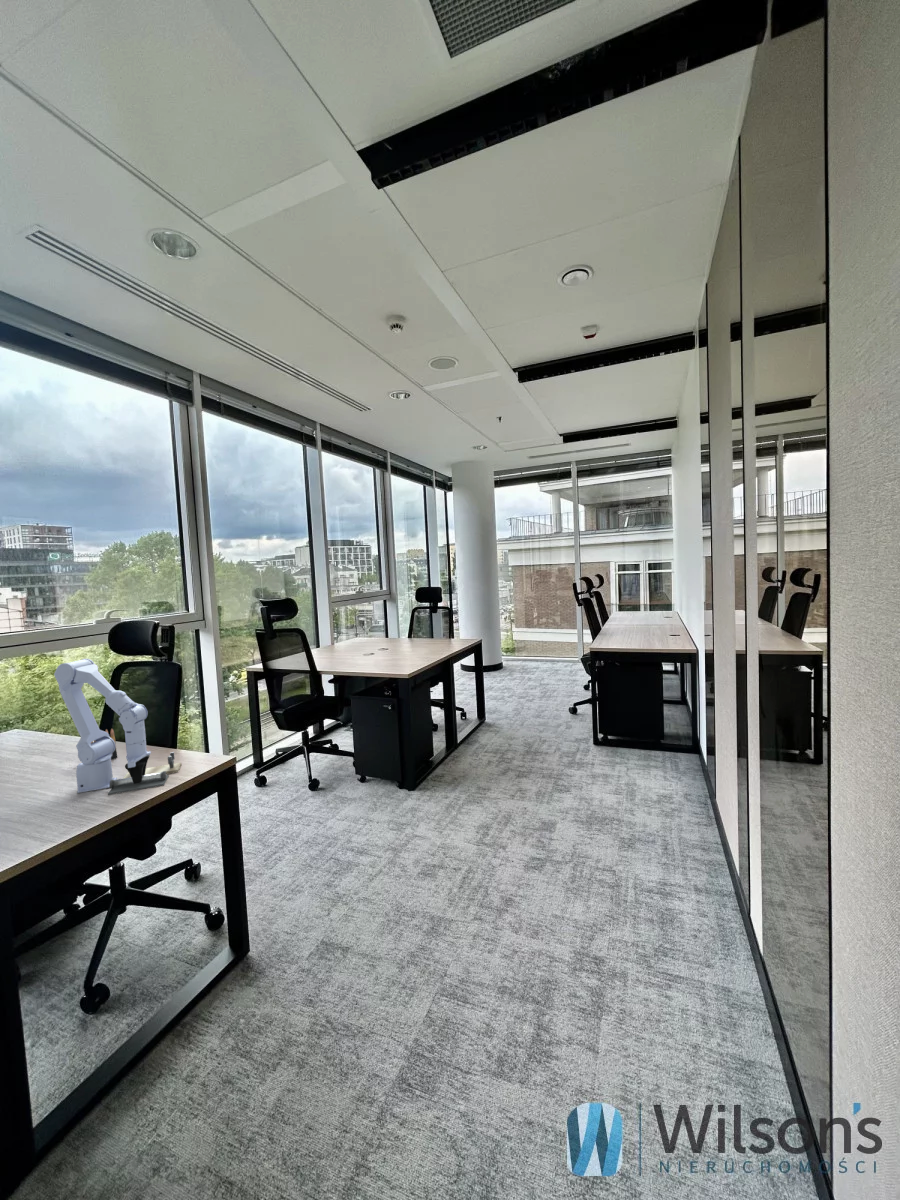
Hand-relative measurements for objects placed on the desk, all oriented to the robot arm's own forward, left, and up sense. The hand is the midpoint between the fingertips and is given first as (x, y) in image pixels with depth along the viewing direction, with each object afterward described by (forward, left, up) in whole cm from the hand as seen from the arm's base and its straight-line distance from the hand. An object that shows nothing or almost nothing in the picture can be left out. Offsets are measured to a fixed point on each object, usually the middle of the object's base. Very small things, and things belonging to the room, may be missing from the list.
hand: (139, 780), depth 161 cm
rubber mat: (0, 0, -2) cm, 2 cm away
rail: (0, 0, -1) cm, 1 cm away
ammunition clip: (-21, +34, -2) cm, 40 cm away
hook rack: (+2, +10, -2) cm, 10 cm away
